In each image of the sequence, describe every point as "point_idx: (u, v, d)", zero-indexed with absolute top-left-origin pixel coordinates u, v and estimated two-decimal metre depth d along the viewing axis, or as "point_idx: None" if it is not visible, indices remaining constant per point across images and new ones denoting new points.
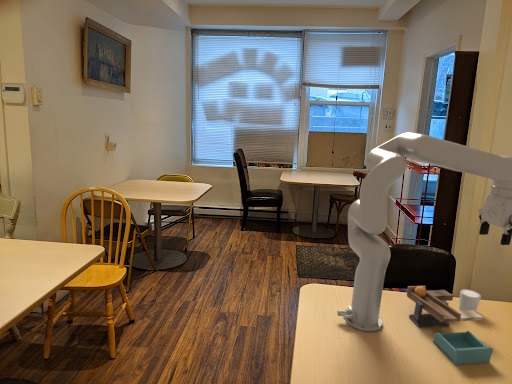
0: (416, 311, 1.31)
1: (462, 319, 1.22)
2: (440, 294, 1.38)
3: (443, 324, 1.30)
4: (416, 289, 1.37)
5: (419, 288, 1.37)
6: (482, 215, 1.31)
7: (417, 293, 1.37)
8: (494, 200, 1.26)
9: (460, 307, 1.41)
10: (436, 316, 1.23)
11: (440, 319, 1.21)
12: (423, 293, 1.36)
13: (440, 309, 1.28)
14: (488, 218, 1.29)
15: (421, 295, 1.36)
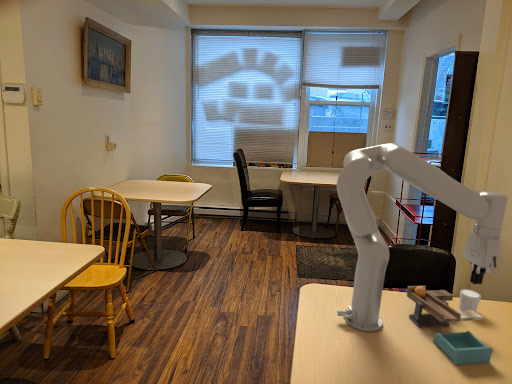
0: (416, 311, 1.31)
1: (462, 319, 1.22)
2: (440, 294, 1.38)
3: (443, 324, 1.30)
4: (416, 289, 1.37)
5: (419, 288, 1.37)
6: (464, 253, 1.23)
7: (417, 293, 1.37)
8: (477, 239, 1.18)
9: (460, 307, 1.41)
10: (436, 316, 1.23)
11: (440, 319, 1.21)
12: (423, 293, 1.36)
13: (440, 309, 1.28)
14: (470, 257, 1.21)
15: (421, 295, 1.36)
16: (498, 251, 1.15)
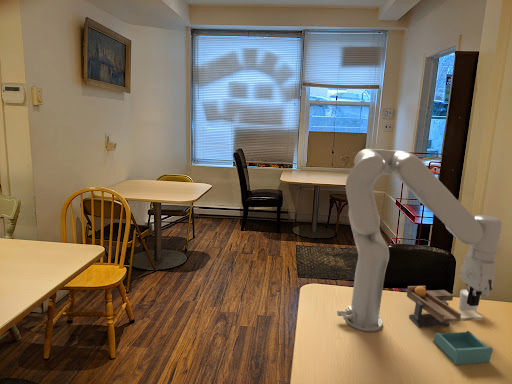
0: (416, 311, 1.31)
1: (462, 319, 1.22)
2: (440, 294, 1.38)
3: (443, 324, 1.30)
4: (416, 289, 1.37)
5: (419, 288, 1.37)
6: (461, 275, 1.25)
7: (417, 293, 1.37)
8: (472, 262, 1.20)
9: (460, 307, 1.41)
10: (436, 316, 1.23)
11: (440, 319, 1.21)
12: (423, 293, 1.36)
13: (440, 309, 1.28)
14: (466, 280, 1.23)
15: (421, 295, 1.36)
16: (493, 274, 1.16)
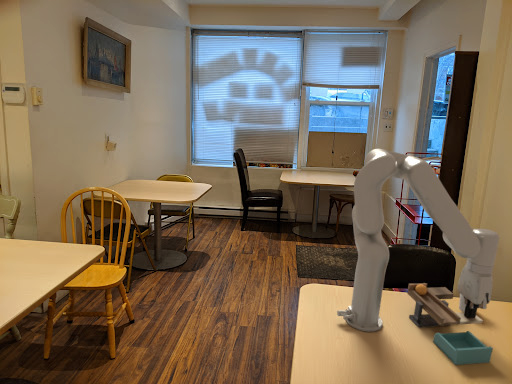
0: (416, 311, 1.31)
1: (461, 322, 1.22)
2: (441, 292, 1.38)
3: None
4: (417, 287, 1.37)
5: (420, 287, 1.36)
6: (458, 287, 1.26)
7: (418, 291, 1.36)
8: (470, 275, 1.21)
9: (460, 307, 1.41)
10: (436, 319, 1.23)
11: (440, 322, 1.21)
12: (423, 292, 1.35)
13: (440, 310, 1.28)
14: (464, 292, 1.24)
15: (422, 294, 1.36)
16: (490, 288, 1.17)
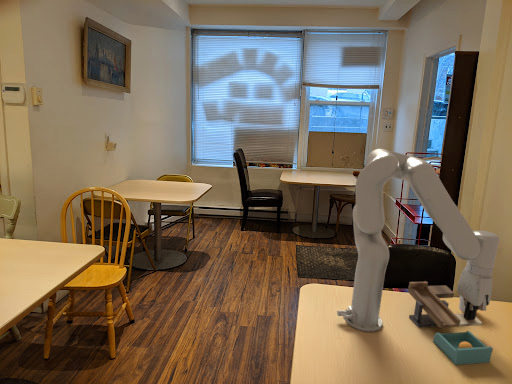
0: (416, 311, 1.31)
1: (461, 325, 1.23)
2: (442, 291, 1.37)
3: None
4: None
5: None
6: (458, 289, 1.27)
7: None
8: (469, 277, 1.21)
9: (460, 307, 1.41)
10: (435, 320, 1.23)
11: (439, 325, 1.22)
12: None
13: (440, 311, 1.28)
14: (463, 294, 1.24)
15: None
16: (490, 290, 1.18)
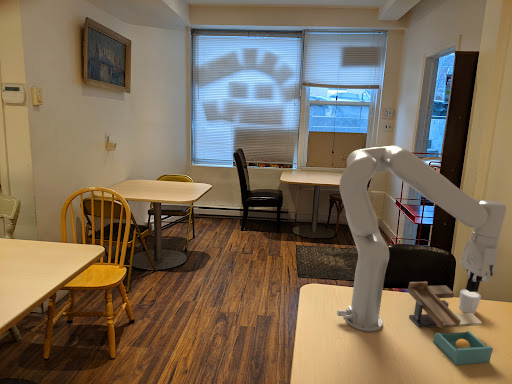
0: (416, 311, 1.31)
1: (461, 325, 1.23)
2: (442, 291, 1.37)
3: None
4: (459, 344, 1.15)
5: (463, 344, 1.14)
6: (461, 261, 1.24)
7: None
8: (474, 247, 1.19)
9: (460, 307, 1.41)
10: (435, 320, 1.23)
11: (439, 325, 1.22)
12: None
13: (440, 311, 1.28)
14: (467, 265, 1.21)
15: None
16: (495, 260, 1.15)
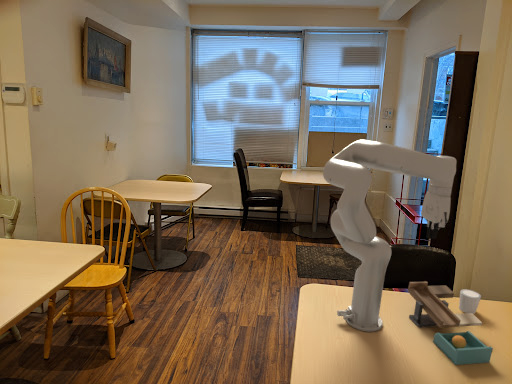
0: (416, 311, 1.31)
1: (461, 325, 1.23)
2: (442, 291, 1.37)
3: None
4: (453, 339, 1.17)
5: (456, 336, 1.17)
6: (422, 212, 1.39)
7: (456, 343, 1.16)
8: (431, 198, 1.34)
9: (460, 307, 1.41)
10: (435, 320, 1.23)
11: (439, 325, 1.22)
12: (462, 341, 1.16)
13: (440, 311, 1.28)
14: (426, 215, 1.37)
15: (461, 344, 1.16)
16: (448, 207, 1.30)
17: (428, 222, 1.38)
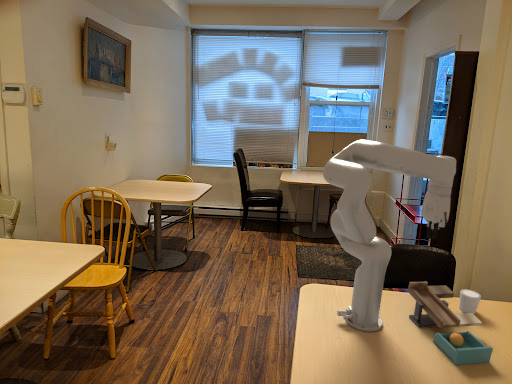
0: (416, 311, 1.31)
1: (461, 325, 1.23)
2: (442, 291, 1.37)
3: None
4: (450, 337, 1.19)
5: (451, 334, 1.19)
6: (421, 212, 1.39)
7: (453, 339, 1.18)
8: (431, 198, 1.34)
9: (460, 307, 1.41)
10: (435, 320, 1.23)
11: (439, 325, 1.22)
12: (458, 335, 1.17)
13: (440, 311, 1.28)
14: (426, 215, 1.37)
15: (458, 338, 1.17)
16: (448, 207, 1.30)
17: (428, 222, 1.38)
